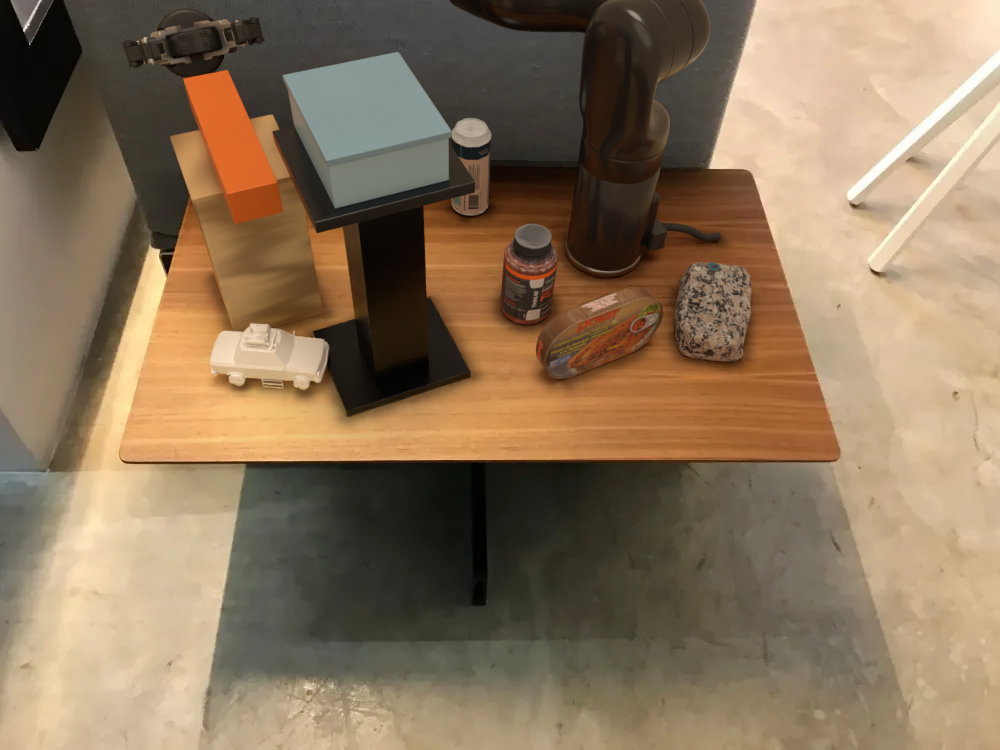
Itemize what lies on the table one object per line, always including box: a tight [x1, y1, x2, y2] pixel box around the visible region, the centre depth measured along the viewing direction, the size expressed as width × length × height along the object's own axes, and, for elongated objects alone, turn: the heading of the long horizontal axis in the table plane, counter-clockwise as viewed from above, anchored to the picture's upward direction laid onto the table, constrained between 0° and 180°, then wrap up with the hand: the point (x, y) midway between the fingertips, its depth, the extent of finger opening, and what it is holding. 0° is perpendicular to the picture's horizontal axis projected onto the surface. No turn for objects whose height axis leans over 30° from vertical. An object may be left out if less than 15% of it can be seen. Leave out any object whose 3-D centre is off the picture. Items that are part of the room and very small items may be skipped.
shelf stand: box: [272, 125, 475, 418], centre depth 84 cm, size 14×13×27 cm
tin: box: [535, 285, 664, 380], centre depth 93 cm, size 15×3×8 cm, turn 117°
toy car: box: [208, 323, 329, 391], centre depth 90 cm, size 6×12×7 cm, turn 87°
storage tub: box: [282, 51, 452, 208], centre depth 72 cm, size 10×12×5 cm
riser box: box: [169, 114, 324, 332], centre depth 92 cm, size 10×10×20 cm
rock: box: [673, 261, 753, 363], centre depth 98 cm, size 13×9×4 cm
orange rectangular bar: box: [183, 69, 283, 224], centre depth 82 cm, size 4×19×4 cm, turn 24°
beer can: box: [450, 117, 492, 216], centre depth 106 cm, size 5×5×12 cm
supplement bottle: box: [500, 223, 559, 325], centre depth 95 cm, size 6×6×11 cm
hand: (198, 40), depth 86 cm, fingers open, 8 cm apart
